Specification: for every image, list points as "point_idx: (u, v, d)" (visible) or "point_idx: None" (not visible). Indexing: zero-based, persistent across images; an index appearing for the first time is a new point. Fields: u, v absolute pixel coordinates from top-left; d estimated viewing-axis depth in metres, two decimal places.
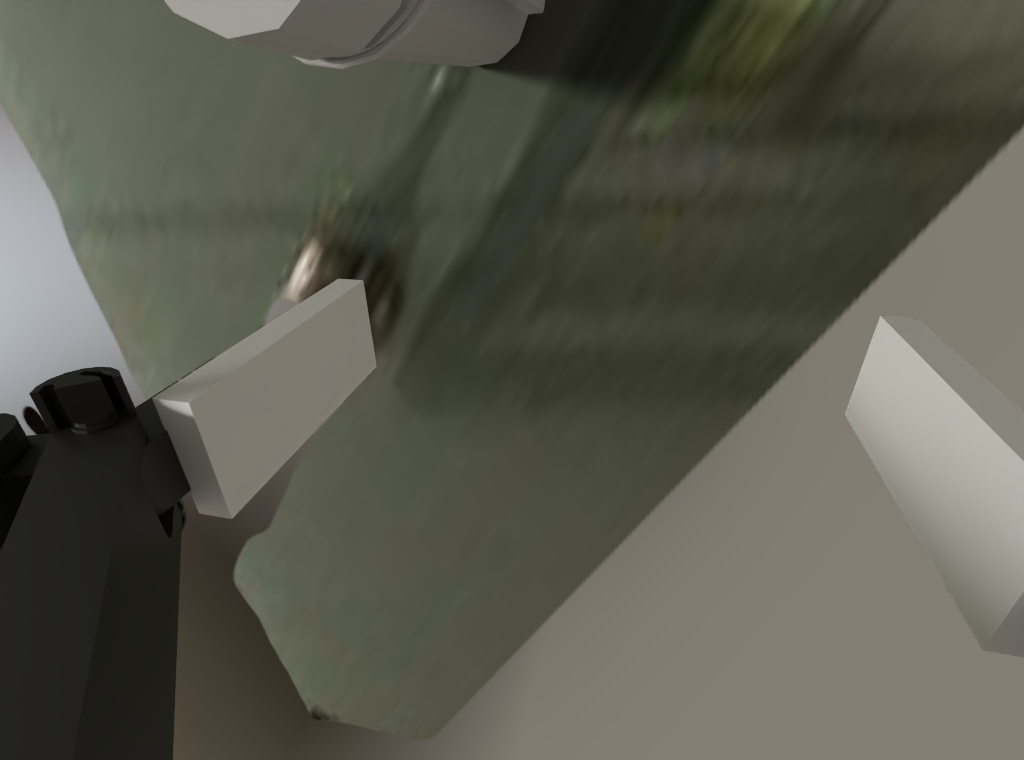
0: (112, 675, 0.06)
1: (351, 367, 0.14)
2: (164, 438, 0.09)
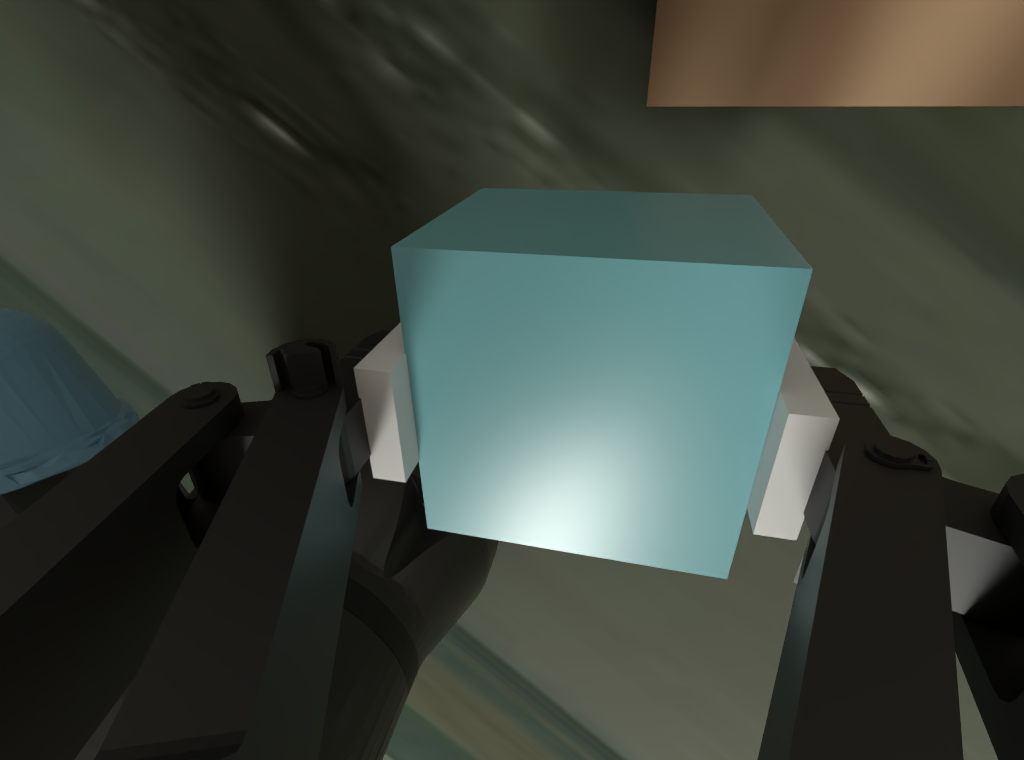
0: (290, 643, 0.06)
1: None
2: (359, 405, 0.10)
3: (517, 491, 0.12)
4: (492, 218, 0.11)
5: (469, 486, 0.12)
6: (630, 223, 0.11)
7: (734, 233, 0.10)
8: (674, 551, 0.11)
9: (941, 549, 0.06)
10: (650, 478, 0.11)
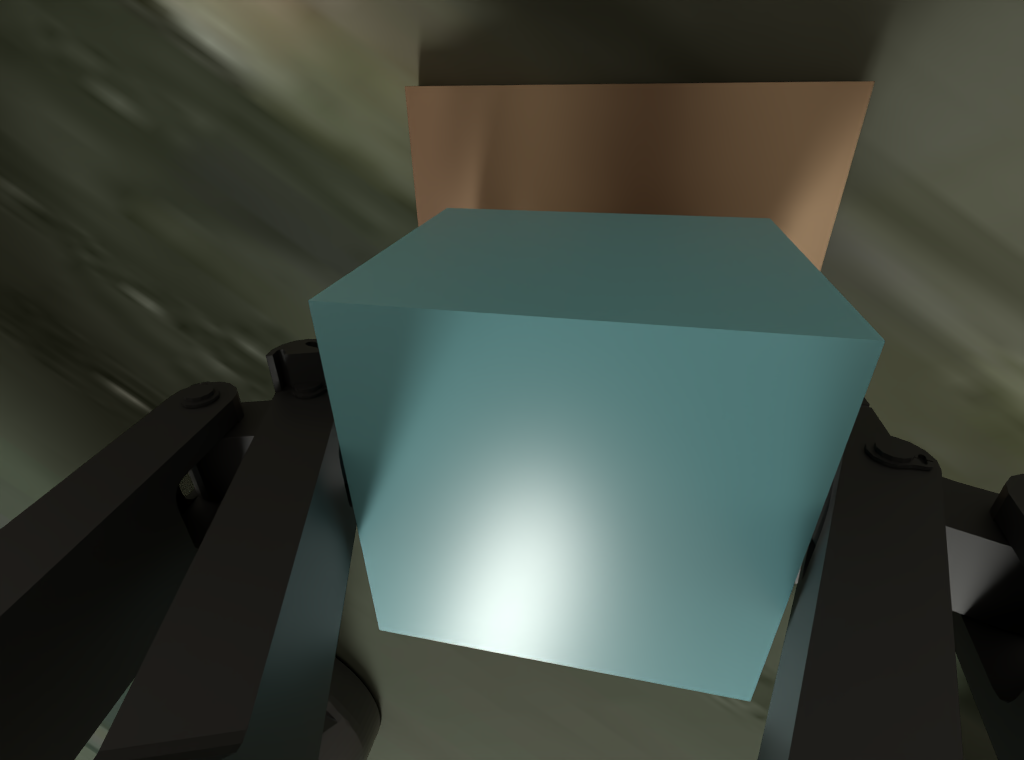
0: (290, 644, 0.06)
1: None
2: None
3: (487, 594, 0.09)
4: (452, 253, 0.09)
5: (427, 587, 0.10)
6: (626, 261, 0.08)
7: (762, 277, 0.08)
8: (685, 668, 0.09)
9: (941, 549, 0.06)
10: (655, 587, 0.08)
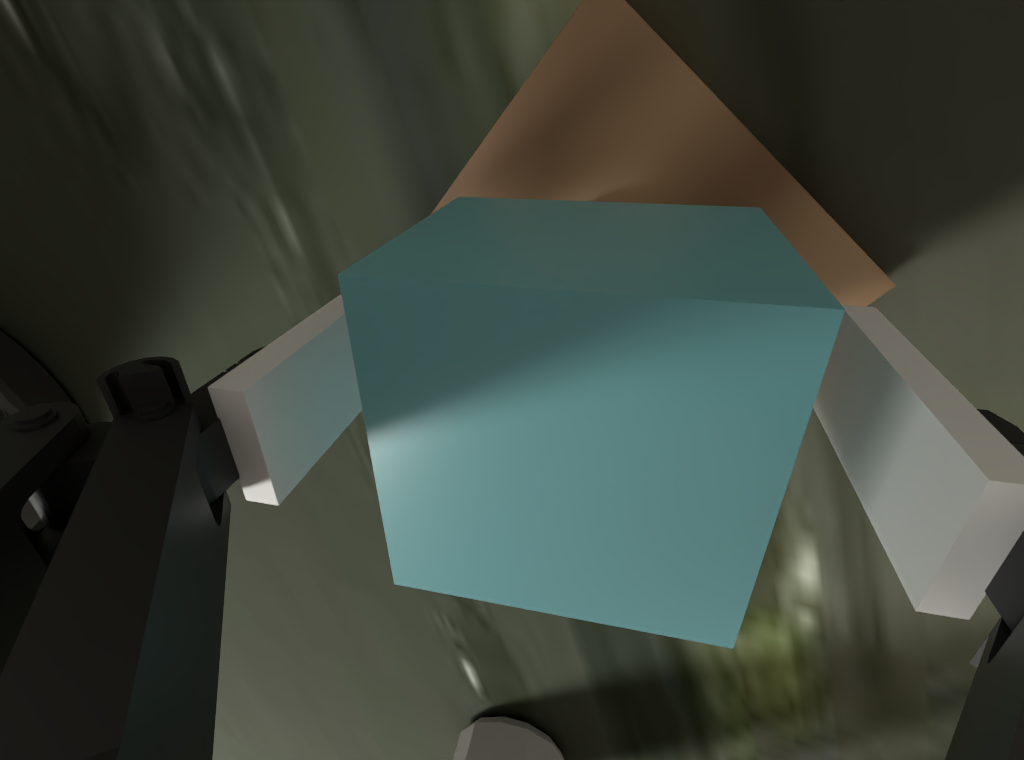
0: (160, 662, 0.06)
1: None
2: (217, 426, 0.10)
3: (494, 548, 0.10)
4: (464, 236, 0.10)
5: (439, 542, 0.10)
6: (623, 243, 0.09)
7: (745, 258, 0.08)
8: (674, 617, 0.10)
9: None
10: (646, 540, 0.09)
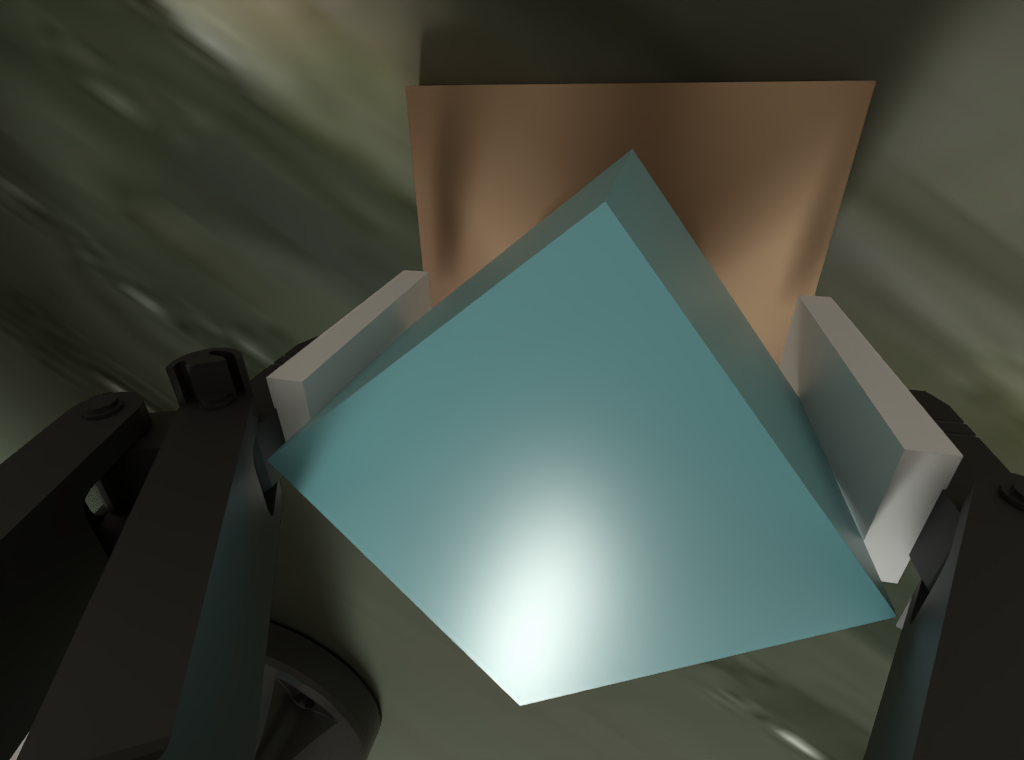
0: (212, 651, 0.06)
1: None
2: (274, 416, 0.10)
3: (560, 626, 0.09)
4: (378, 361, 0.11)
5: (516, 644, 0.10)
6: (483, 278, 0.09)
7: (568, 214, 0.08)
8: (792, 612, 0.08)
9: None
10: (676, 540, 0.08)
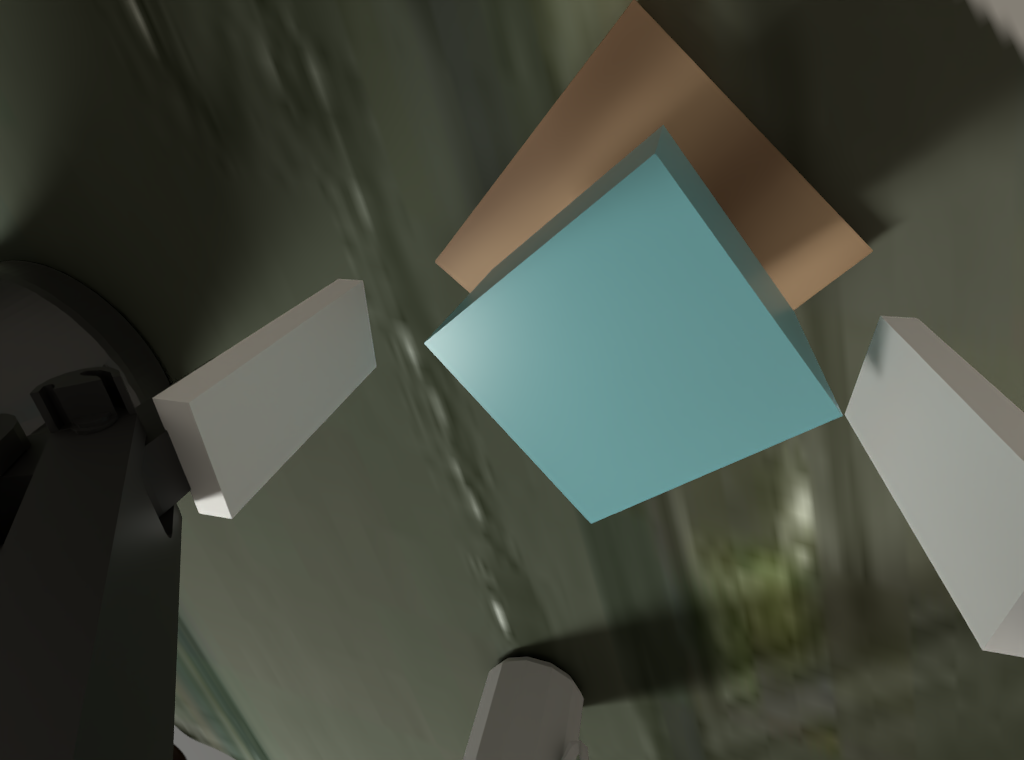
0: (113, 675, 0.06)
1: (351, 367, 0.14)
2: (164, 438, 0.09)
3: (622, 451, 0.14)
4: (486, 283, 0.15)
5: (590, 471, 0.14)
6: (564, 217, 0.13)
7: (626, 168, 0.12)
8: (776, 420, 0.12)
9: None
10: (700, 374, 0.12)
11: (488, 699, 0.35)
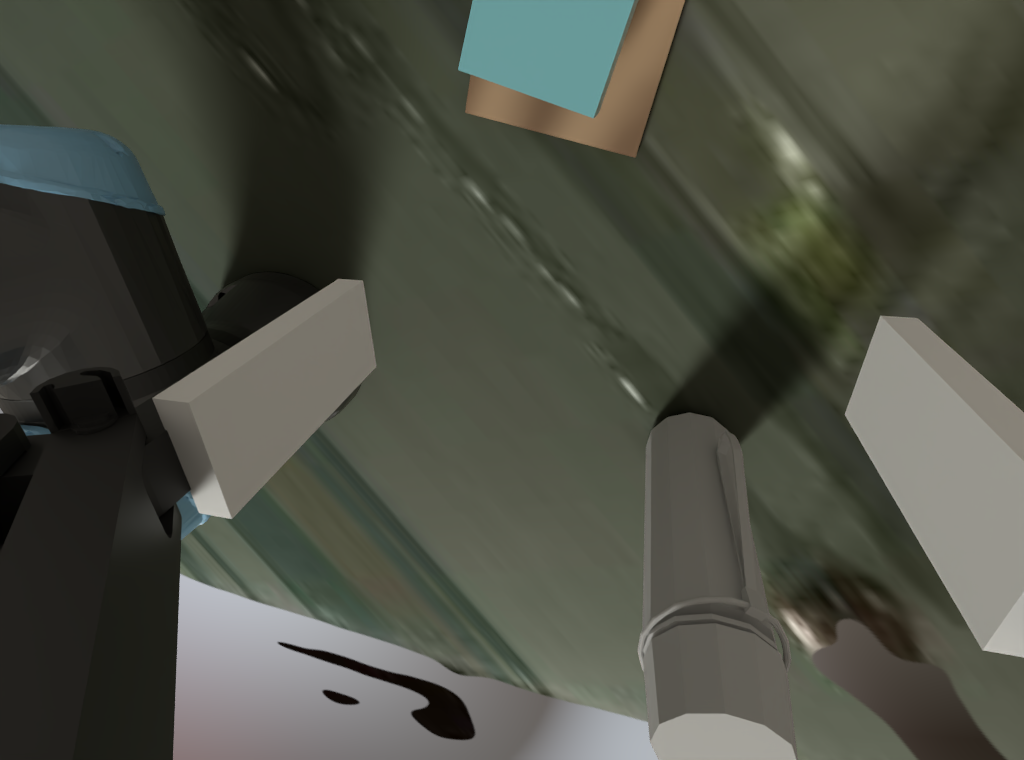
0: (113, 675, 0.06)
1: (351, 367, 0.14)
2: (164, 438, 0.09)
3: (578, 53, 0.24)
4: None
5: (571, 81, 0.25)
6: None
7: None
8: None
9: None
10: None
11: (649, 452, 0.43)
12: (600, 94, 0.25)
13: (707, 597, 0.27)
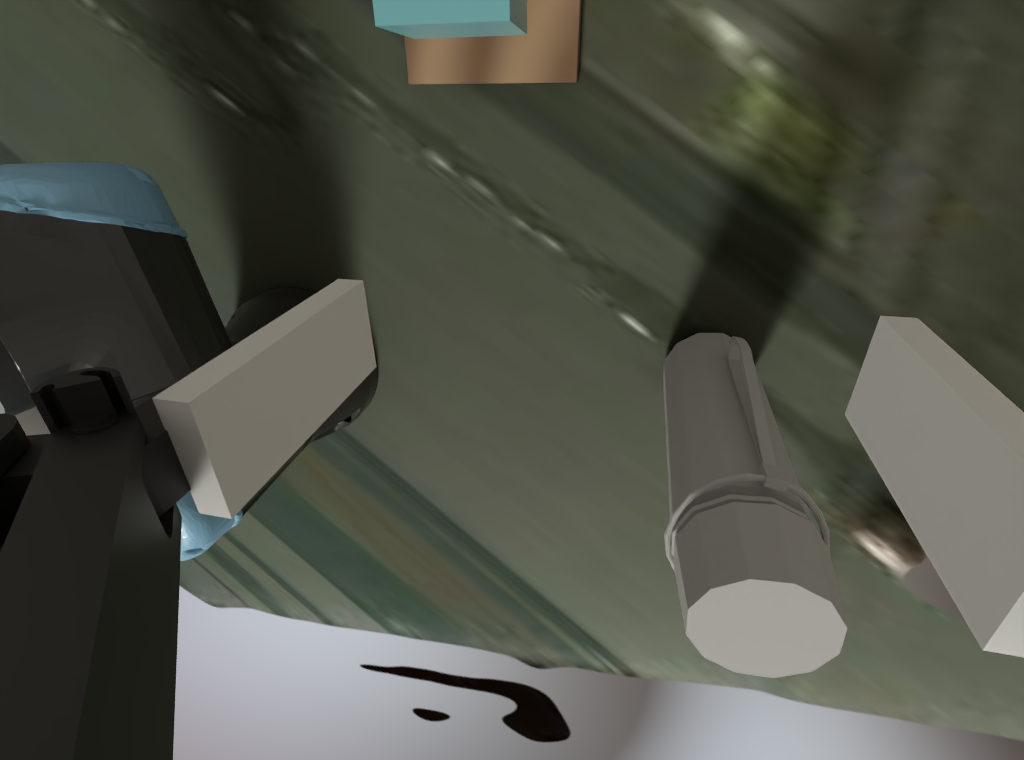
0: (112, 675, 0.06)
1: (351, 367, 0.14)
2: (164, 438, 0.09)
3: None
4: None
5: None
6: None
7: None
8: None
9: None
10: None
11: (664, 381, 0.42)
12: None
13: (721, 478, 0.26)
